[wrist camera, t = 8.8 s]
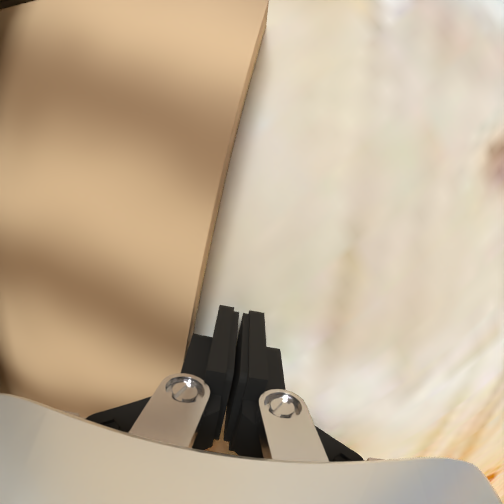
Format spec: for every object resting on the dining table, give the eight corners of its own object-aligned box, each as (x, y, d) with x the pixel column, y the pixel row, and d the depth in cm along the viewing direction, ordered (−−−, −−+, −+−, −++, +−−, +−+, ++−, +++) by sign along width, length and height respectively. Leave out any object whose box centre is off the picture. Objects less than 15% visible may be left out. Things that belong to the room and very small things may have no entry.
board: (173, 457, 16) (166, 488, 13) (-27, 370, 15) (-45, 388, 12) (265, 29, 9) (268, -1, 7) (-22, 36, 8) (-51, 28, 6)
